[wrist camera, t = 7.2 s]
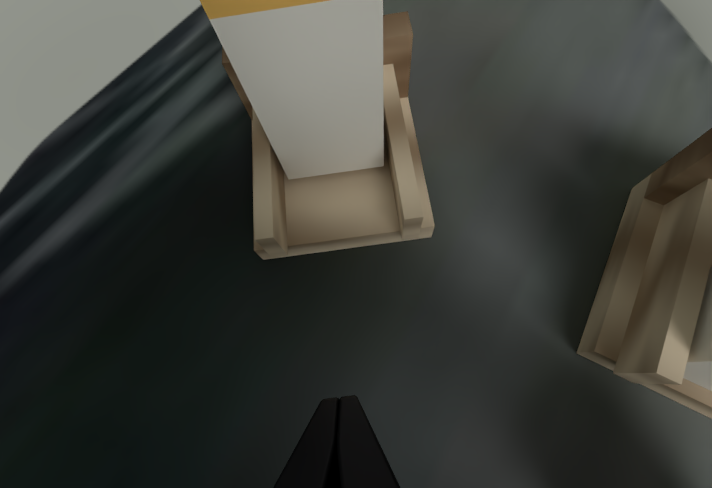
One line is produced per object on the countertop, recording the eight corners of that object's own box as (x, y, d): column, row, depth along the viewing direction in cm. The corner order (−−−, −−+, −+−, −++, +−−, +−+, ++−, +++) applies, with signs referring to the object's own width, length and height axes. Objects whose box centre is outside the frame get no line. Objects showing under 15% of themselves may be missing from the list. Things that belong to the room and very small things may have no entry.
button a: (383, 166, 19) (382, -56, 9) (288, 179, 19) (188, -25, 9) (373, 104, 20) (363, -145, 10) (285, 117, 20) (194, -116, 11)
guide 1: (432, 246, 19) (451, 197, 14) (263, 268, 19) (218, 229, 14) (402, 95, 22) (407, 11, 17) (259, 116, 22) (222, 40, 17)
